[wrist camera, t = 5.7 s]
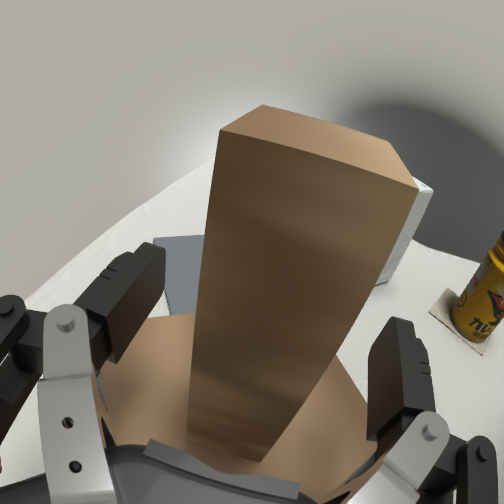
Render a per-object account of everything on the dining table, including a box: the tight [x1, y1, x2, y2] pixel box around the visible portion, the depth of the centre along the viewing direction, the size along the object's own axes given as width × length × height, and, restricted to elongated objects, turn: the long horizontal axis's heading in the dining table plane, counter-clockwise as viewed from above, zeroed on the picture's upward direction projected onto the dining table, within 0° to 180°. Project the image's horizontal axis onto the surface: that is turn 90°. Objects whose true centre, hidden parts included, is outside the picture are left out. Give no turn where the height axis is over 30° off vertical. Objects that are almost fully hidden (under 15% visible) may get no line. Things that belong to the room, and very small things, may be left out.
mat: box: [153, 235, 204, 315], centre depth 31 cm, size 14×14×1 cm
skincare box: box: [375, 177, 433, 285], centre depth 31 cm, size 6×4×12 cm
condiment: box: [429, 231, 504, 355], centre depth 28 cm, size 7×8×12 cm
